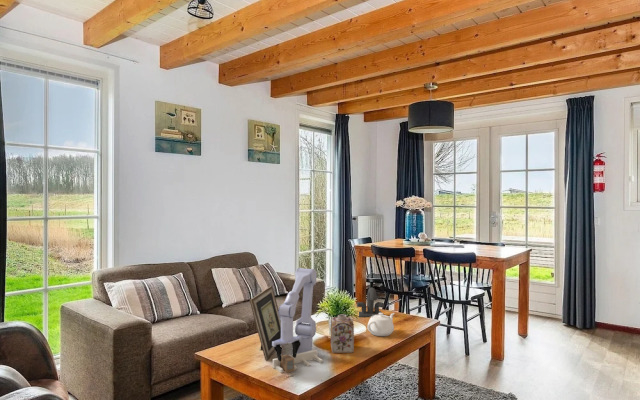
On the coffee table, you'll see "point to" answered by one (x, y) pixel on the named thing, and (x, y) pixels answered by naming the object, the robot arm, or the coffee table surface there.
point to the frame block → (287, 363)
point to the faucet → (370, 304)
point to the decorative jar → (342, 334)
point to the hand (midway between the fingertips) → (286, 358)
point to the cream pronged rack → (298, 359)
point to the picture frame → (266, 319)
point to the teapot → (381, 325)
